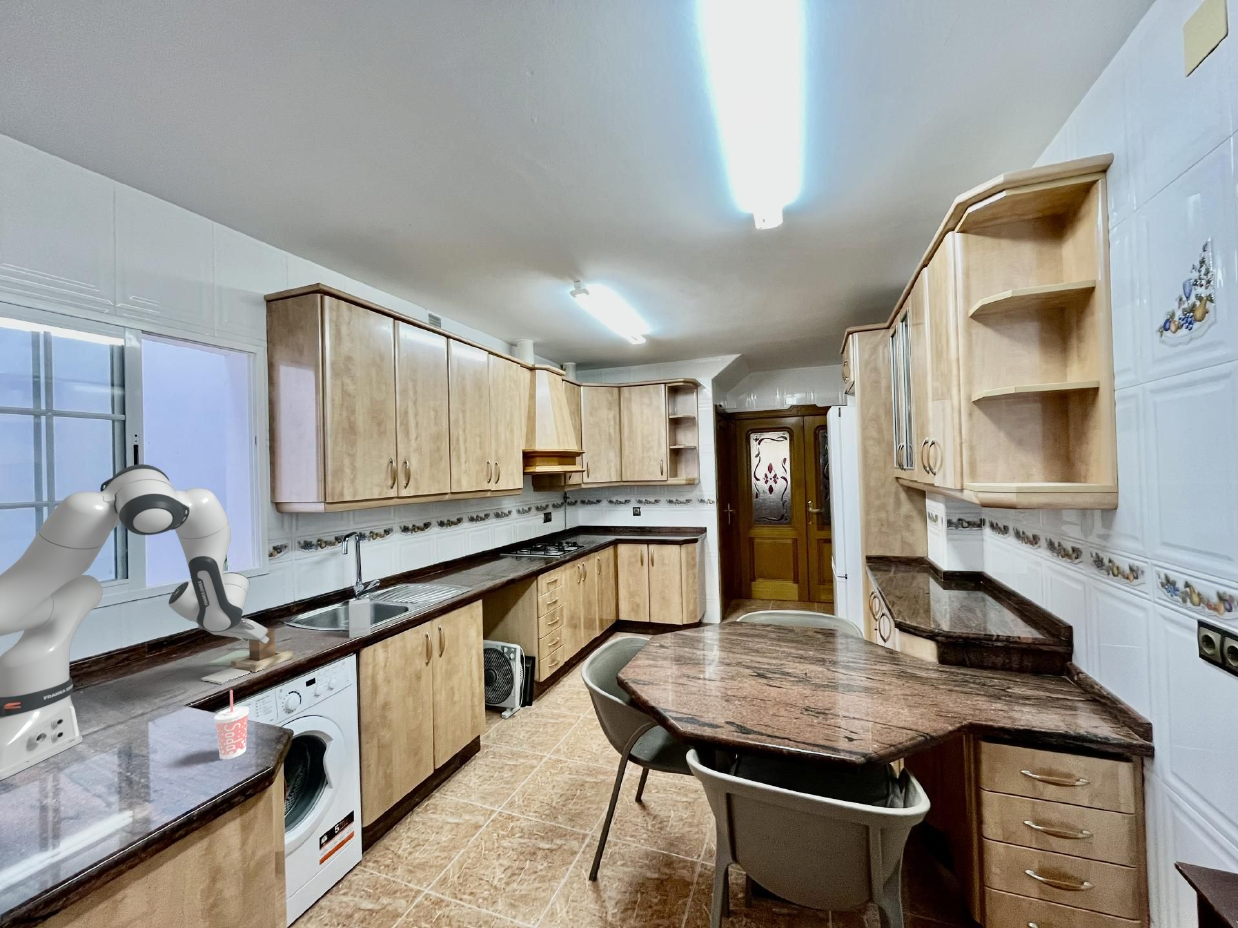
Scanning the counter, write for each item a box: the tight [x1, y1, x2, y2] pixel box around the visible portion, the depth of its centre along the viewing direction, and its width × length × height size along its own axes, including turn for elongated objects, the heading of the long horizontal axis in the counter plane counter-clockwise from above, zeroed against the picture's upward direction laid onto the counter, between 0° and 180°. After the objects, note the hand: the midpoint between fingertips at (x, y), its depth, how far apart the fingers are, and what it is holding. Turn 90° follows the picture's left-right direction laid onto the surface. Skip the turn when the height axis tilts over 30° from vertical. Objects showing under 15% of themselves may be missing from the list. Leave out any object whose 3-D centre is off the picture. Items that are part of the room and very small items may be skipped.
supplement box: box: [348, 598, 371, 639], centre depth 189 cm, size 7×7×13 cm
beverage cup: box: [213, 689, 250, 760], centre depth 108 cm, size 6×6×14 cm
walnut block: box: [248, 627, 276, 661], centre depth 161 cm, size 5×5×11 cm
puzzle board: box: [200, 648, 294, 683], centre depth 157 cm, size 21×12×2 cm, turn 159°
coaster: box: [207, 650, 249, 666], centre depth 167 cm, size 11×11×1 cm
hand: (257, 639), depth 159 cm, fingers open, 8 cm apart
